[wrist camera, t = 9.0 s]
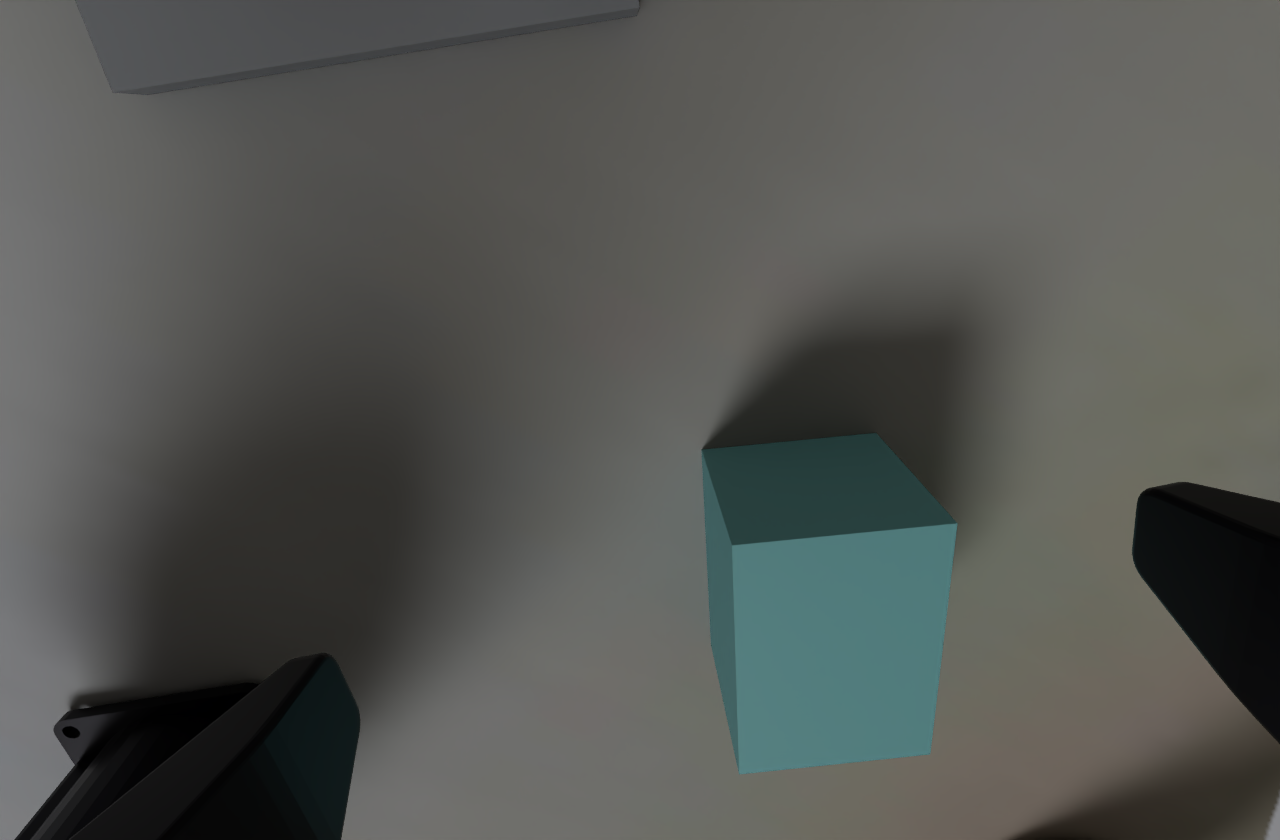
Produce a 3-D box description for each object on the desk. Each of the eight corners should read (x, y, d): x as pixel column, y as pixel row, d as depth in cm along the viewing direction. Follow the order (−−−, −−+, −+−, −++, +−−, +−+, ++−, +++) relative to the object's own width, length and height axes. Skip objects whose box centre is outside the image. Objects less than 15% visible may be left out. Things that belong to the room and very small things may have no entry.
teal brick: (710, 642, 23) (739, 773, 18) (701, 447, 20) (731, 545, 15) (862, 626, 23) (930, 754, 18) (874, 431, 20) (957, 523, 15)
